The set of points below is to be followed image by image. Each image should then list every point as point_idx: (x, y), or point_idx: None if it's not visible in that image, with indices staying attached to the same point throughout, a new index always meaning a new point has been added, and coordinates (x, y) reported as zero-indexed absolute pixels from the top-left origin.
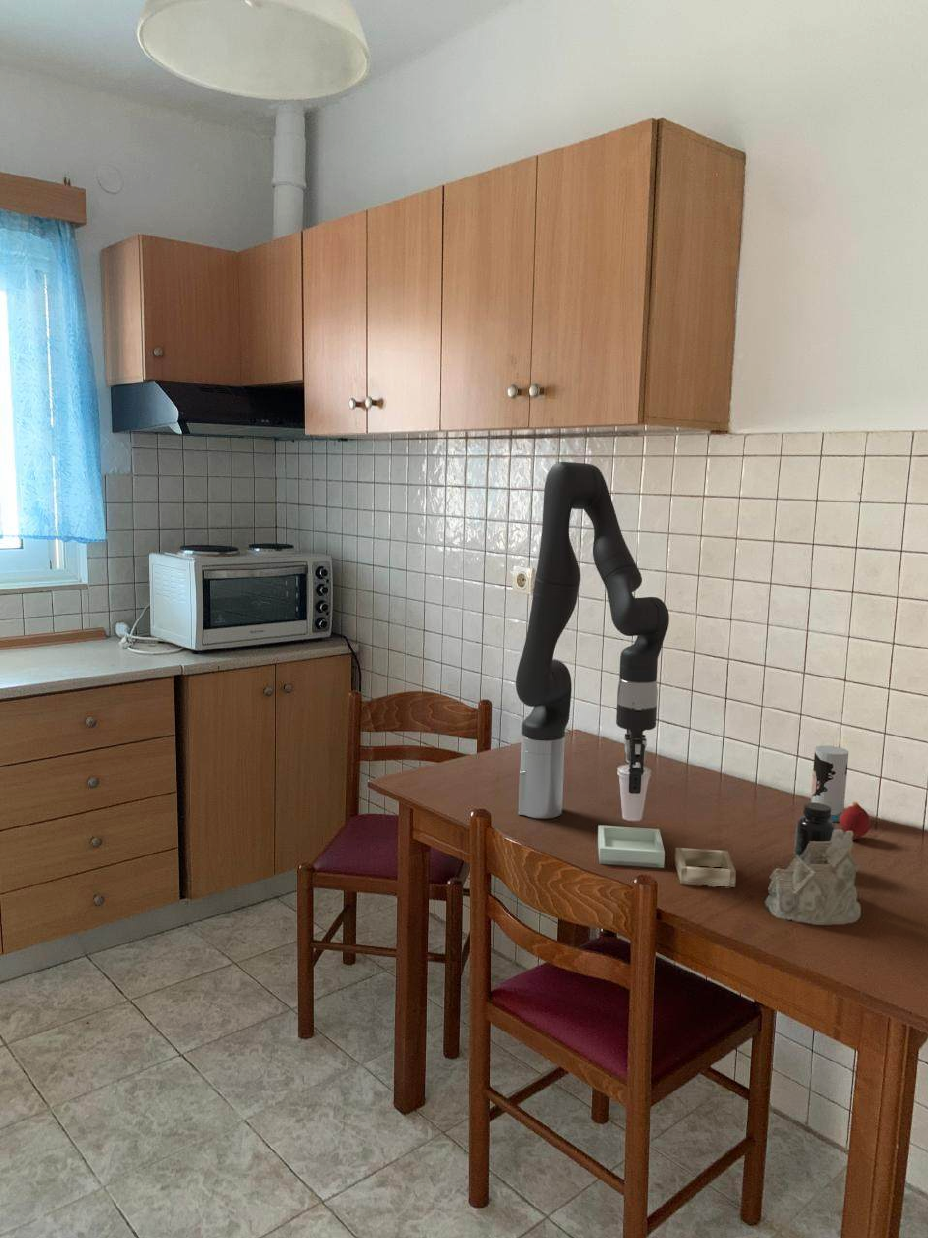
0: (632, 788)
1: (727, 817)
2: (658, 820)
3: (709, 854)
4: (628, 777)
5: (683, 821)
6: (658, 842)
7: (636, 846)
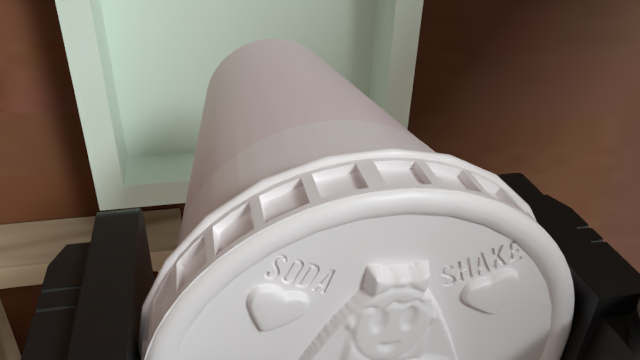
0: (49, 282)
1: None
2: (619, 149)
3: None
4: (153, 305)
5: (595, 229)
6: None
7: None
